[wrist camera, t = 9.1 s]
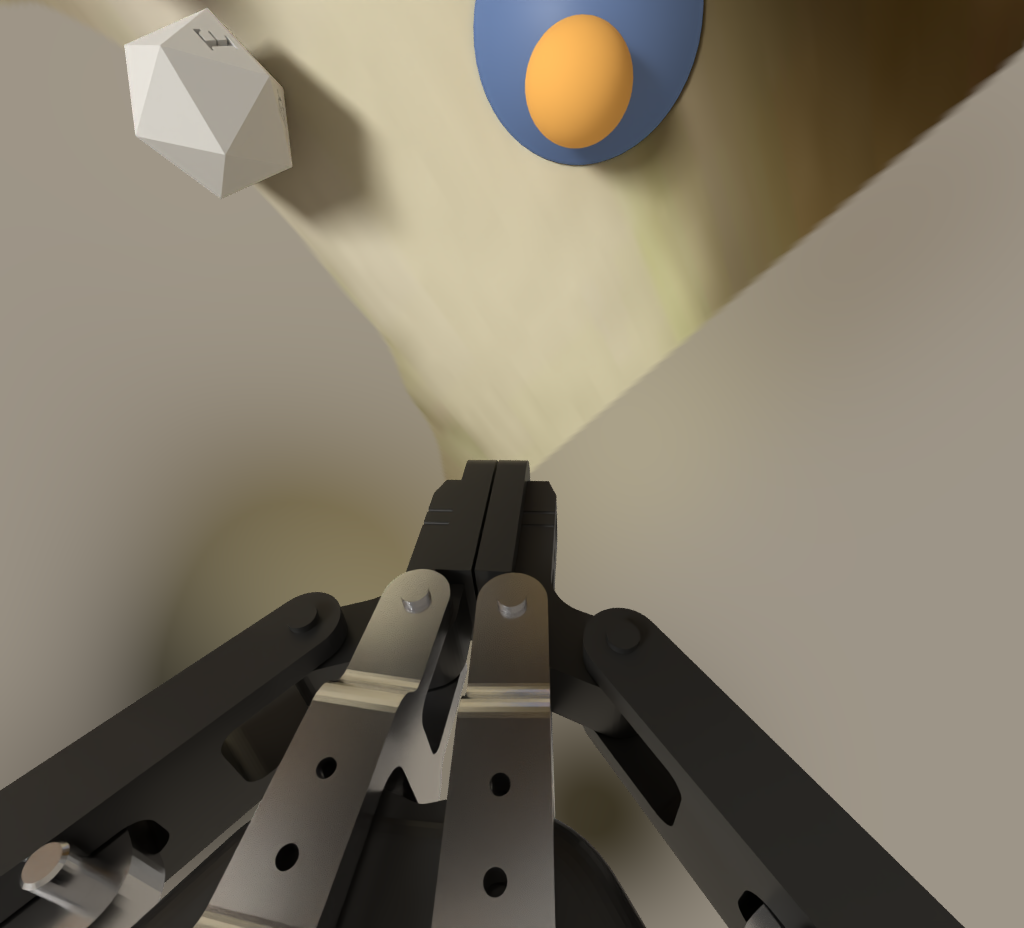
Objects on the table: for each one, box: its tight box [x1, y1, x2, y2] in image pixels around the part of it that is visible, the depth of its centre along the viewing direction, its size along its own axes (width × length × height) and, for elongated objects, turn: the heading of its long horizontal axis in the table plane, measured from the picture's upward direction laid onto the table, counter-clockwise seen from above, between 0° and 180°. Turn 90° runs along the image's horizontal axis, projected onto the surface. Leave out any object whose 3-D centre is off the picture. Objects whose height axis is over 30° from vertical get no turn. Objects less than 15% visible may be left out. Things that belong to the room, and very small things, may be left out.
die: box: [124, 8, 293, 199], centre depth 31 cm, size 8×9×10 cm
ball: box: [525, 14, 633, 148], centre depth 29 cm, size 6×6×6 cm
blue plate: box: [474, 0, 703, 165], centre depth 29 cm, size 13×13×1 cm
